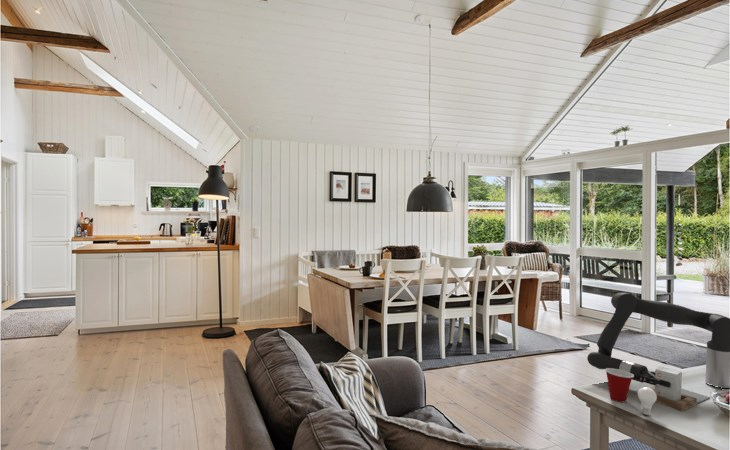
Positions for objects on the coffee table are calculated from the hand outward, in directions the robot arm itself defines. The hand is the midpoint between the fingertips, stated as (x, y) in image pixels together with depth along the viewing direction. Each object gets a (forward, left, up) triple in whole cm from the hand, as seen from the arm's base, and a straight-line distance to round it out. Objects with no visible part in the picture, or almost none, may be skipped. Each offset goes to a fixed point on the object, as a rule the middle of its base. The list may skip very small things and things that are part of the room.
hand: (674, 383), depth 186 cm
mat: (-14, 0, -8) cm, 16 cm away
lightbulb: (+24, +1, -8) cm, 25 cm away
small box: (0, -2, -8) cm, 9 cm away
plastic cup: (+18, -13, -8) cm, 24 cm away
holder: (0, -2, -8) cm, 8 cm away
